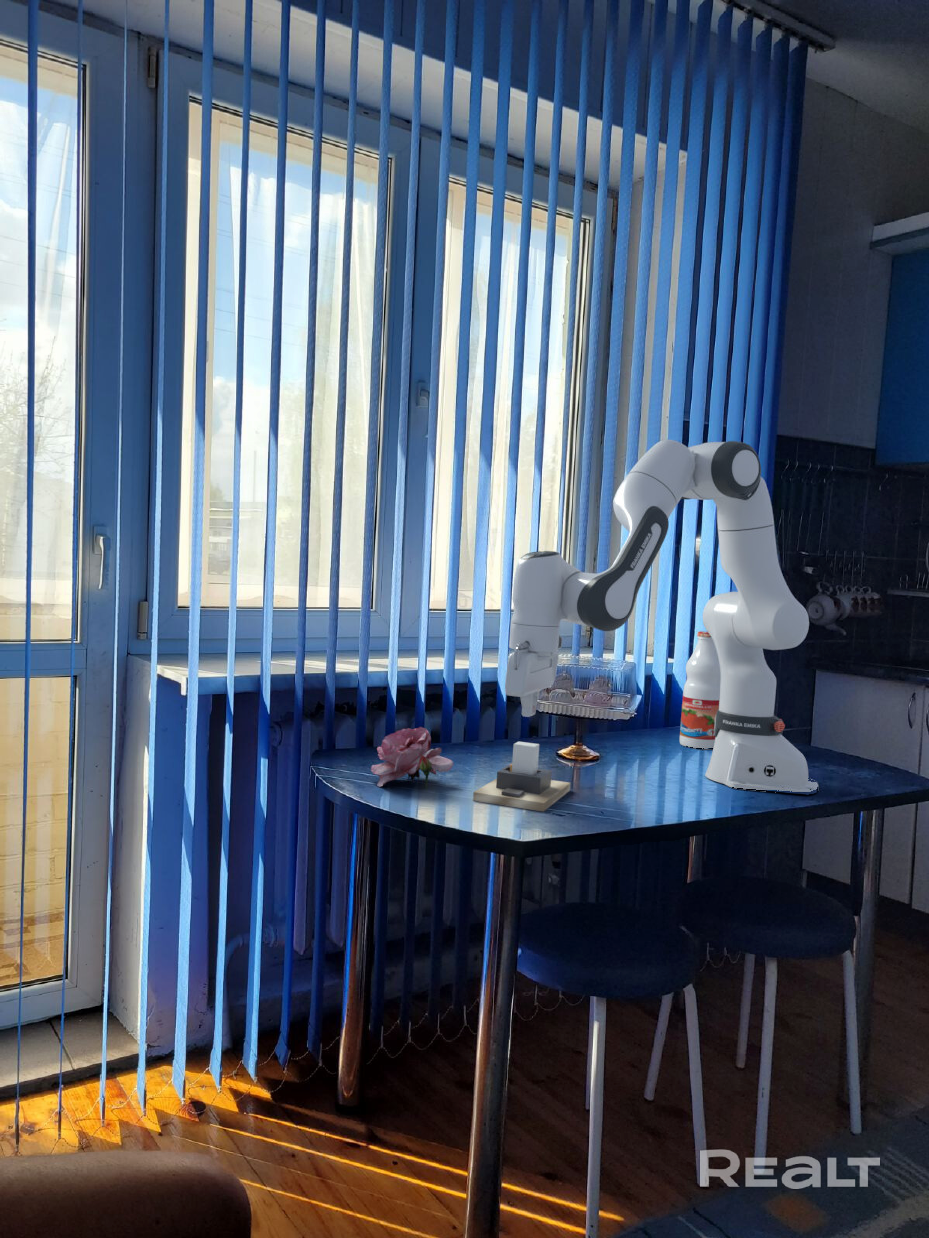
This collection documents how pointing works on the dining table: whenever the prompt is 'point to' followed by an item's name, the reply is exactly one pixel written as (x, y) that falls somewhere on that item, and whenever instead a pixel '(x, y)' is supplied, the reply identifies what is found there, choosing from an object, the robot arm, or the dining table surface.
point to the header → (524, 780)
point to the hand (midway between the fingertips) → (528, 715)
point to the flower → (409, 756)
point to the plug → (525, 758)
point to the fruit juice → (701, 695)
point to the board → (521, 796)
